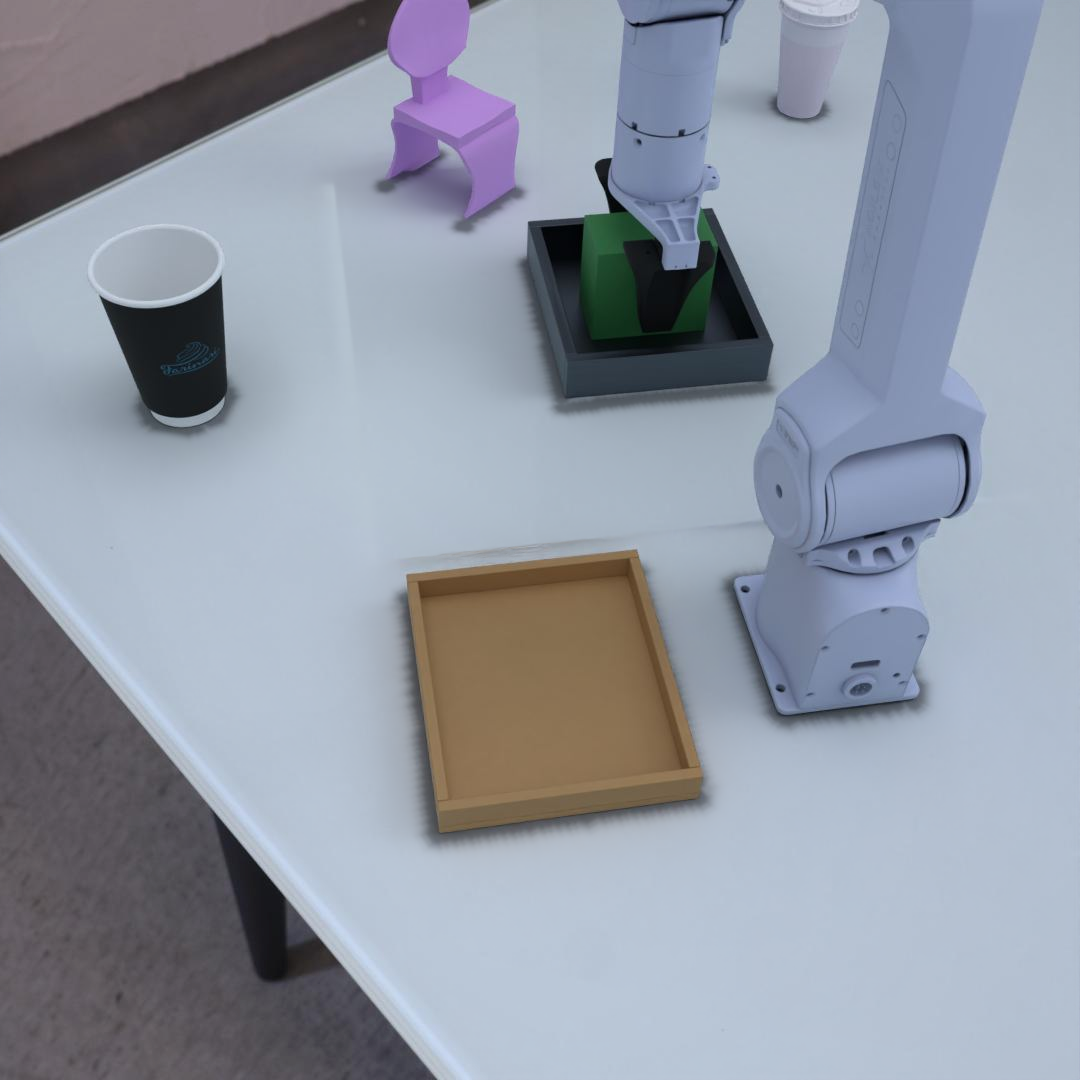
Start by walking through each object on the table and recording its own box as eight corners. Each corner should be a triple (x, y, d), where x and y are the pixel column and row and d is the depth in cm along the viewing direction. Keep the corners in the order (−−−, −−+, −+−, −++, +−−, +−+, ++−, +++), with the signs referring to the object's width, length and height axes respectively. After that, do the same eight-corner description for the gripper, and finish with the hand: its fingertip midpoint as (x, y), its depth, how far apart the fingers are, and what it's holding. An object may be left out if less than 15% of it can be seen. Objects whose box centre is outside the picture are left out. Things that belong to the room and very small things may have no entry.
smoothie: (749, 93, 114) (776, -71, 103) (816, 83, 115) (849, -79, 105) (780, 131, 109) (811, -36, 99) (849, 121, 111) (886, -44, 100)
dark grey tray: (764, 388, 88) (774, 344, 85) (564, 407, 86) (567, 362, 83) (706, 251, 98) (712, 207, 95) (526, 264, 96) (527, 220, 93)
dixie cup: (165, 350, 88) (132, 210, 80) (271, 379, 87) (248, 239, 78) (100, 425, 83) (58, 284, 75) (211, 457, 82) (180, 317, 73)
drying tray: (698, 798, 66) (703, 776, 65) (439, 833, 65) (438, 811, 63) (634, 572, 76) (637, 548, 75) (407, 598, 75) (406, 573, 73)
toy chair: (459, 236, 98) (456, 46, 87) (373, 191, 102) (360, 3, 90) (529, 189, 103) (535, 2, 91) (445, 148, 106) (441, -36, 95)
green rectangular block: (704, 330, 90) (718, 245, 85) (591, 340, 89) (597, 254, 84) (689, 290, 93) (701, 206, 88) (578, 299, 92) (584, 214, 87)
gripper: (760, 174, 75) (727, 356, 86) (697, 50, 85) (675, 227, 95) (640, 182, 75) (622, 365, 85) (591, 56, 84) (579, 235, 94)
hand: (643, 293), depth 90 cm, fingers open, 7 cm apart
